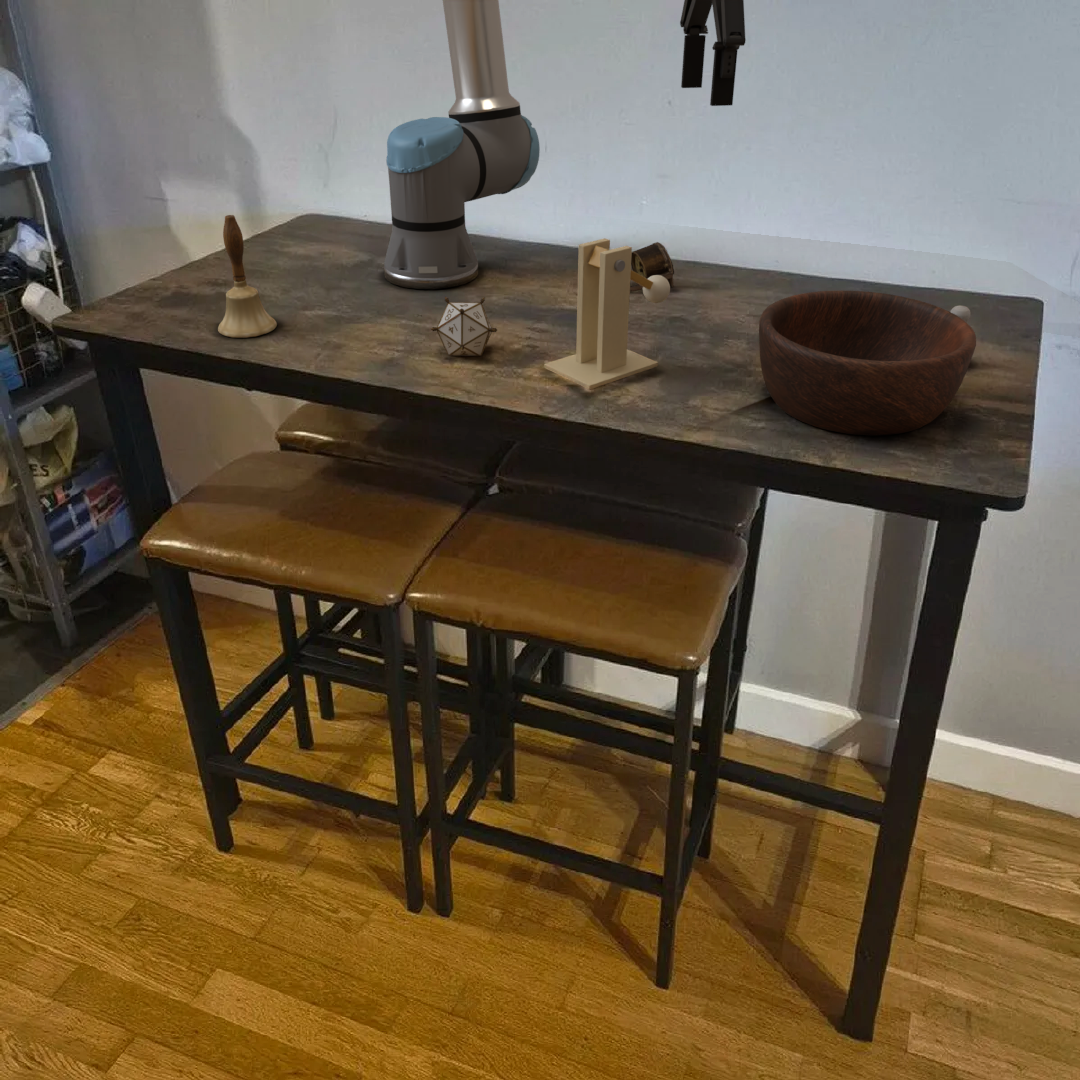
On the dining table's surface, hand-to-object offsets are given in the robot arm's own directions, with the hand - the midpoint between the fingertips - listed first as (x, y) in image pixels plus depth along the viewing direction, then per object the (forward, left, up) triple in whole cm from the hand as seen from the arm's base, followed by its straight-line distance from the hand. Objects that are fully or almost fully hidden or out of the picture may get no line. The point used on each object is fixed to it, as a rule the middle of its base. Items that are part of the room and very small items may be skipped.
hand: (705, 96), depth 141 cm
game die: (+10, -34, -31) cm, 47 cm away
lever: (+16, -14, -20) cm, 29 cm away
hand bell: (-6, -64, -31) cm, 71 cm away
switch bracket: (+18, -17, -31) cm, 39 cm away
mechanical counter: (-14, -5, -31) cm, 34 cm away
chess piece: (+22, +30, -31) cm, 48 cm away
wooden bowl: (+32, +12, -31) cm, 46 cm away
